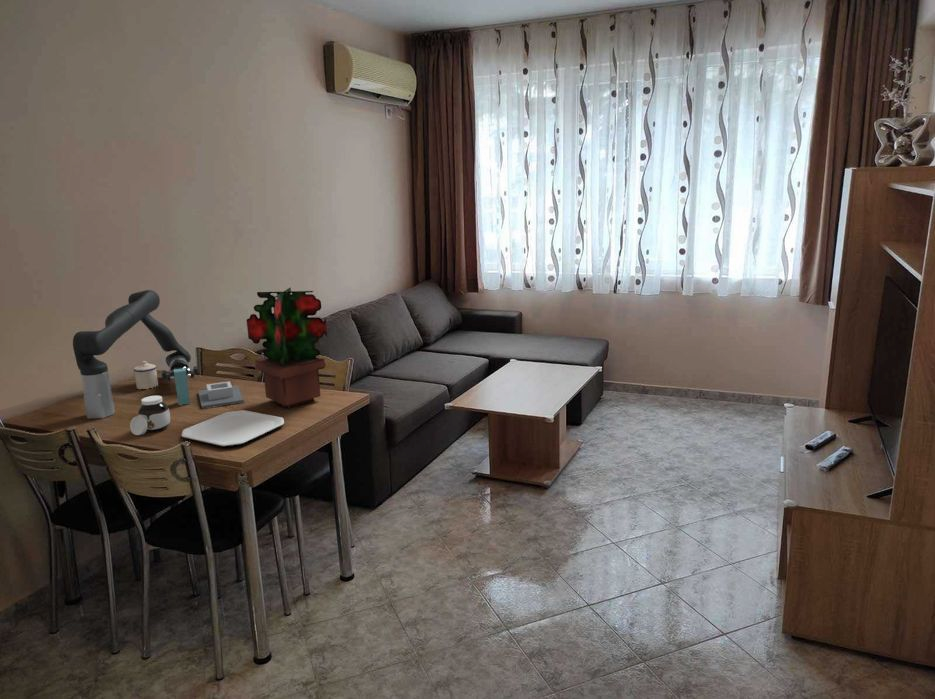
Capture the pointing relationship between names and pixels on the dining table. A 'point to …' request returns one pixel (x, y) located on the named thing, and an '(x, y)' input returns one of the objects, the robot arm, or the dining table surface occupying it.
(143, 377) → the teacup with lid
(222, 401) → the socket holder
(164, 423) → the spread jar
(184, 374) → the teal peg
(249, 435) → the plate
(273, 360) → the potted plant
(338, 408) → the dining table surface
